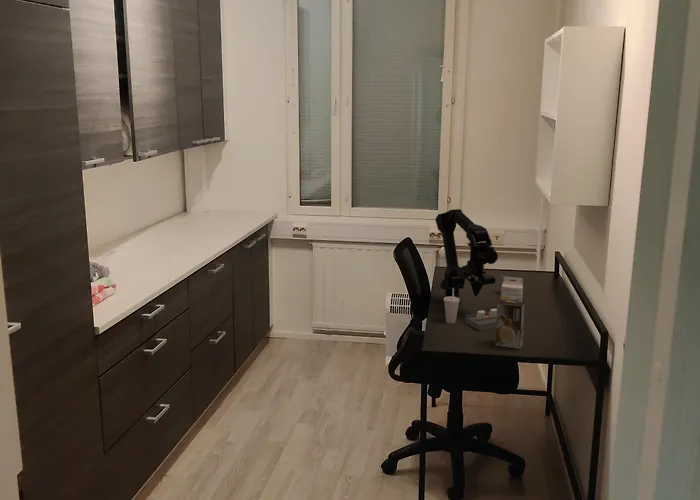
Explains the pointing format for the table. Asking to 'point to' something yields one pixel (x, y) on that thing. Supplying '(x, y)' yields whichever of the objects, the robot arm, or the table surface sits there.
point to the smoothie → (451, 308)
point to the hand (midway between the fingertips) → (475, 295)
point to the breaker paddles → (481, 314)
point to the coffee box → (510, 323)
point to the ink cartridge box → (512, 289)
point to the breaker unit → (481, 322)
